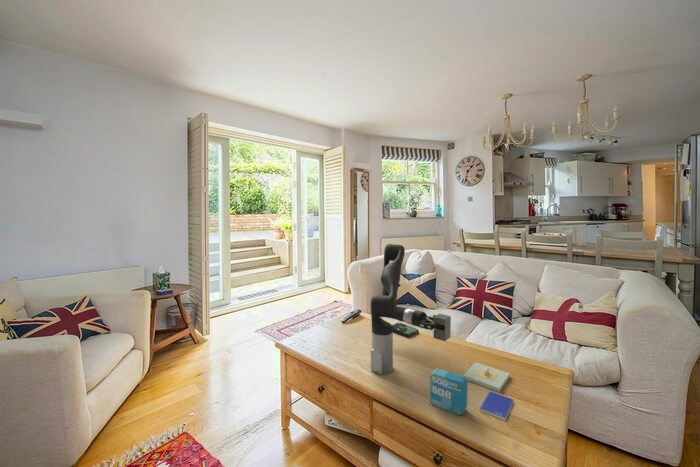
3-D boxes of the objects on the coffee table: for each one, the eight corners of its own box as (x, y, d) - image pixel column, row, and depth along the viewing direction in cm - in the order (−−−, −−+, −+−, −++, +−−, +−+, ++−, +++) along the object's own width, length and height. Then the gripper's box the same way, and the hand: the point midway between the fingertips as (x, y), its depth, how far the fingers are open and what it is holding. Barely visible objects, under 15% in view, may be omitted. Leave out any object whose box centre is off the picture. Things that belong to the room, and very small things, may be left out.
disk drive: (387, 331, 175) (408, 339, 165) (387, 326, 175) (408, 334, 164) (398, 326, 182) (419, 333, 172) (398, 322, 182) (419, 328, 171)
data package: (429, 403, 109) (429, 372, 108) (434, 397, 113) (434, 366, 112) (463, 416, 102) (463, 383, 101) (467, 409, 106) (467, 377, 105)
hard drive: (505, 417, 100) (513, 399, 110) (479, 407, 105) (489, 390, 115) (505, 422, 100) (512, 403, 110) (479, 411, 105) (489, 394, 115)
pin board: (499, 392, 115) (499, 383, 115) (463, 378, 125) (463, 370, 125) (509, 376, 126) (509, 368, 125) (475, 365, 135) (475, 357, 135)
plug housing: (444, 341, 134) (445, 319, 133) (433, 337, 138) (433, 316, 137) (450, 337, 138) (450, 316, 137) (439, 334, 142) (439, 313, 141)
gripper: (406, 313, 142) (440, 322, 130) (422, 306, 152) (454, 314, 141) (406, 329, 142) (440, 339, 131) (421, 321, 153) (454, 329, 141)
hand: (447, 326), depth 136 cm, fingers closed on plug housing, 5 cm apart
